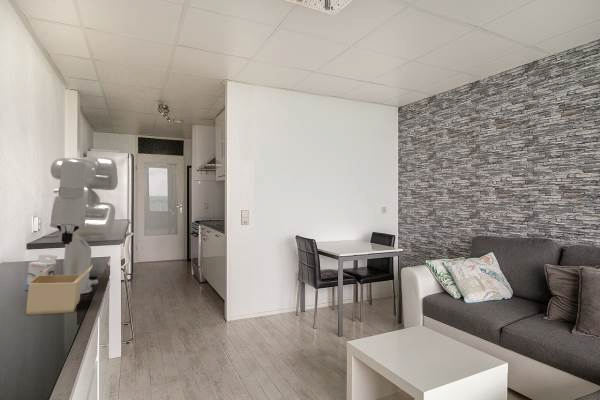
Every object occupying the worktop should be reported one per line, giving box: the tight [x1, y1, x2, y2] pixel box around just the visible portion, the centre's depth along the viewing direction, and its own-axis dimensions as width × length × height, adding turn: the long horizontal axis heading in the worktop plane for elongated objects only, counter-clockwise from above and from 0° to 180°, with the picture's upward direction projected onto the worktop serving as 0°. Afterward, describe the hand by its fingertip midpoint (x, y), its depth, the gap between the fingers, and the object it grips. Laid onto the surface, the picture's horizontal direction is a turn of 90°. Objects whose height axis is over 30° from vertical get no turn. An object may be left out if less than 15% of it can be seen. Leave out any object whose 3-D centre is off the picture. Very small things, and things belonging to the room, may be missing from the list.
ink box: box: [25, 253, 57, 290], centre depth 141 cm, size 9×5×15 cm, turn 84°
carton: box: [25, 274, 82, 316], centre depth 120 cm, size 16×13×10 cm
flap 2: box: [77, 264, 94, 282], centre depth 124 cm, size 5×14×1 cm
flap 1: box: [29, 265, 52, 283], centre depth 119 cm, size 5×14×1 cm
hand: (66, 243), depth 122 cm, fingers closed
